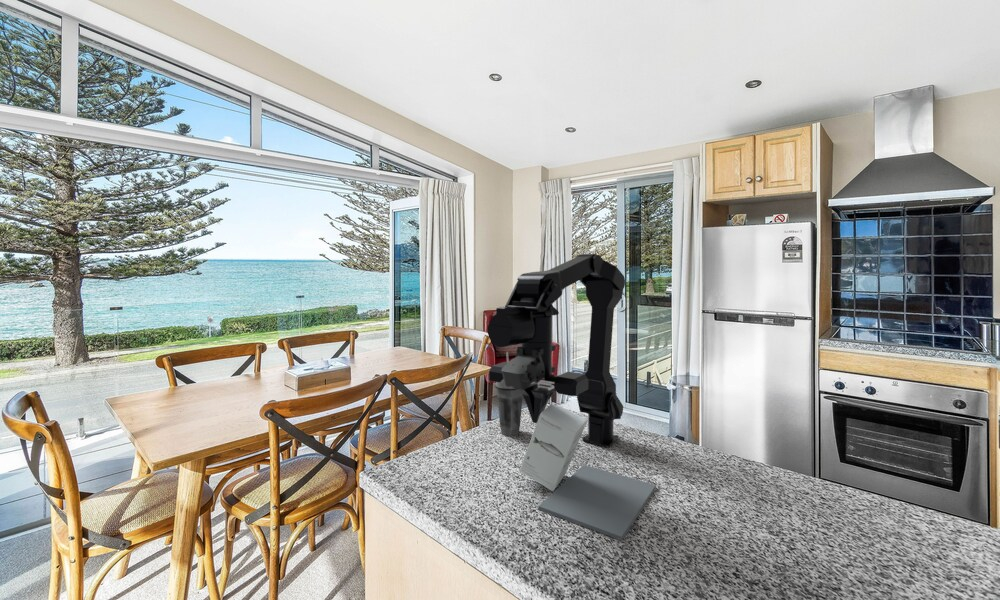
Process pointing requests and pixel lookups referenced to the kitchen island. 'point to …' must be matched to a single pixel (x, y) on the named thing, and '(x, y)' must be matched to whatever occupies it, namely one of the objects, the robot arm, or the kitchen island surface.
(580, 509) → the mat
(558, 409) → the supplement box
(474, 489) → the kitchen island surface
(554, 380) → the robot arm
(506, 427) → the beverage cup
